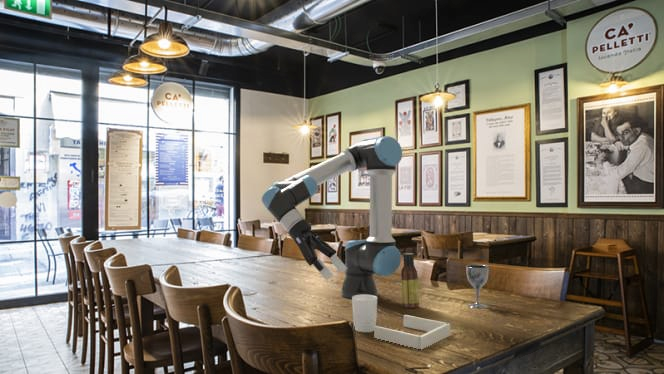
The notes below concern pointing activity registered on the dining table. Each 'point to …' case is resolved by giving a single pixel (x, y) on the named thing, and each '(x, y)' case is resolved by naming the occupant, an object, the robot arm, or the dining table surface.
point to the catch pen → (433, 335)
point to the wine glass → (477, 281)
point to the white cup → (364, 312)
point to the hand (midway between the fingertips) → (337, 274)
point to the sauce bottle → (409, 282)
